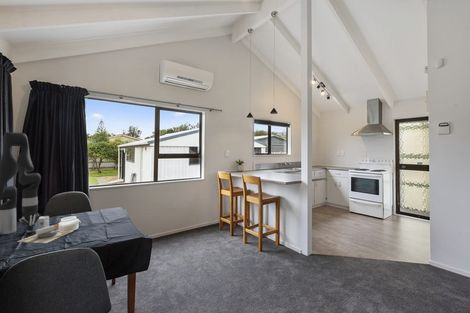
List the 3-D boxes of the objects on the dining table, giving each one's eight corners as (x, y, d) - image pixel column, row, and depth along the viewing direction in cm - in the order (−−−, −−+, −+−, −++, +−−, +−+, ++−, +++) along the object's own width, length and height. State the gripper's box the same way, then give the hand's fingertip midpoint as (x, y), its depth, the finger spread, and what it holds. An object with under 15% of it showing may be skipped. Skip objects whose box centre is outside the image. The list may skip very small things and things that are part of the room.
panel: (16, 243, 142) (16, 241, 142) (48, 231, 164) (48, 229, 164) (46, 245, 140) (46, 242, 140) (74, 232, 162) (74, 230, 162)
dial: (41, 239, 144) (40, 231, 144) (32, 237, 148) (32, 228, 148) (61, 233, 156) (61, 225, 155) (53, 231, 160) (53, 223, 160)
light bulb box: (26, 234, 158) (26, 219, 157) (32, 231, 164) (32, 216, 164) (44, 233, 160) (44, 218, 160) (49, 230, 167) (49, 215, 167)
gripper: (34, 201, 151) (34, 226, 151) (13, 206, 137) (13, 234, 138) (45, 202, 150) (45, 227, 151) (25, 207, 137) (25, 235, 137)
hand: (30, 230), depth 144 cm, fingers closed
